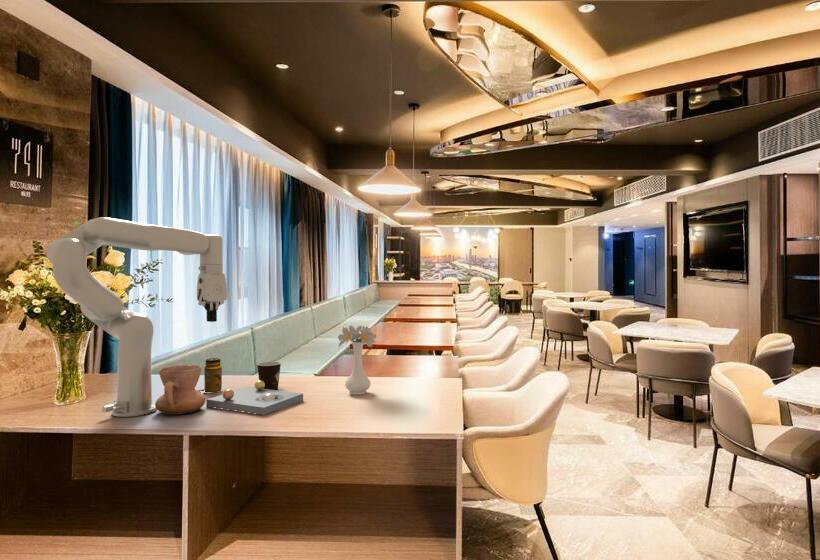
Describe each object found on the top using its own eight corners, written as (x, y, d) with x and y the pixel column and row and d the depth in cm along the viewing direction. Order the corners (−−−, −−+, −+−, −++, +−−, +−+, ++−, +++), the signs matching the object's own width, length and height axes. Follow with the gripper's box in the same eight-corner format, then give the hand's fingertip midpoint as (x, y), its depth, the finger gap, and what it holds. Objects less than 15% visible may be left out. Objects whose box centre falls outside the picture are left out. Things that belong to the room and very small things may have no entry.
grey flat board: (206, 406, 166) (206, 399, 166) (249, 393, 184) (249, 386, 184) (263, 415, 156) (263, 407, 156) (303, 400, 174) (303, 393, 174)
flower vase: (379, 387, 195) (379, 322, 194) (369, 399, 176) (369, 328, 176) (346, 386, 196) (346, 322, 196) (333, 398, 178) (333, 327, 177)
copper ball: (228, 401, 163) (228, 391, 163) (220, 400, 165) (220, 389, 165) (236, 399, 166) (236, 388, 166) (228, 398, 168) (228, 387, 168)
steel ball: (270, 406, 165) (265, 395, 165) (263, 409, 168) (258, 398, 167) (279, 400, 169) (274, 390, 168) (272, 403, 171) (267, 392, 171)
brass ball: (260, 391, 177) (260, 381, 177) (252, 390, 178) (252, 380, 178) (266, 389, 180) (266, 379, 180) (259, 388, 182) (259, 379, 182)
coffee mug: (266, 393, 184) (266, 366, 184) (252, 390, 189) (252, 364, 189) (291, 388, 193) (291, 362, 193) (277, 385, 199) (277, 359, 198)
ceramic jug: (171, 404, 170) (171, 362, 169) (214, 404, 169) (213, 362, 169) (141, 420, 152) (141, 373, 151) (189, 420, 151) (189, 373, 151)
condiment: (225, 391, 189) (225, 359, 189) (203, 395, 183) (202, 362, 183) (217, 387, 194) (217, 356, 194) (195, 391, 188) (195, 359, 188)
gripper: (202, 269, 170) (202, 323, 170) (235, 269, 183) (235, 320, 184) (186, 269, 173) (186, 322, 173) (219, 269, 186) (219, 319, 187)
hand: (211, 321), depth 178 cm, fingers closed
